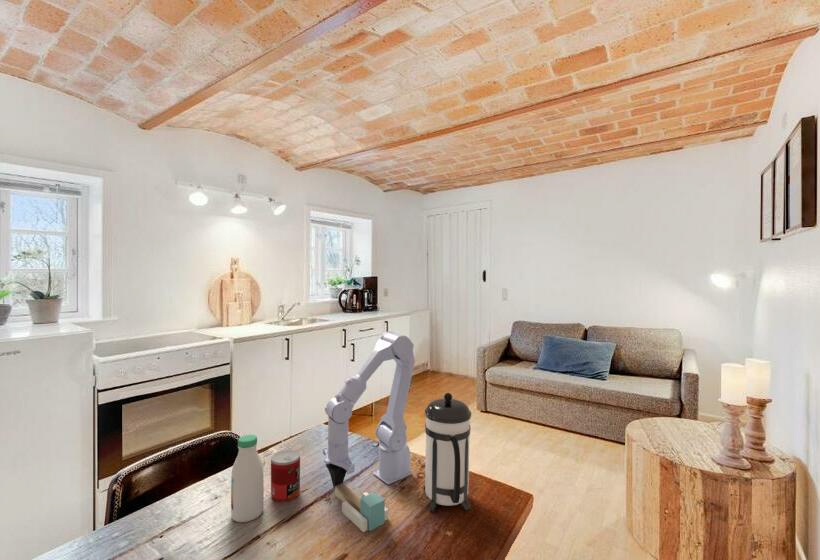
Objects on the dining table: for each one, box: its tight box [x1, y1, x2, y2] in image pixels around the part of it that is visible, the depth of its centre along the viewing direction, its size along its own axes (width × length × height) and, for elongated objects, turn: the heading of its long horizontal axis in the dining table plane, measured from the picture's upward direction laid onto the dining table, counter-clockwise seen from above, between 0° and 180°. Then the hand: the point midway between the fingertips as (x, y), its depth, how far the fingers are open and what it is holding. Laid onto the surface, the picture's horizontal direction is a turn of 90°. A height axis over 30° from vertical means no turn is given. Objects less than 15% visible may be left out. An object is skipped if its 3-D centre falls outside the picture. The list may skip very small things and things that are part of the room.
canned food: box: [270, 449, 301, 503], centre depth 108 cm, size 8×8×11 cm
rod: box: [334, 482, 361, 513], centre depth 103 cm, size 3×14×3 cm, turn 40°
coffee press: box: [423, 392, 472, 513], centre depth 105 cm, size 17×16×30 cm
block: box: [360, 492, 386, 532], centre depth 96 cm, size 4×4×6 cm
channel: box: [341, 491, 389, 533], centre depth 99 cm, size 8×10×2 cm
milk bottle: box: [230, 434, 265, 523], centre depth 99 cm, size 8×8×20 cm
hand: (337, 487), depth 109 cm, fingers closed
